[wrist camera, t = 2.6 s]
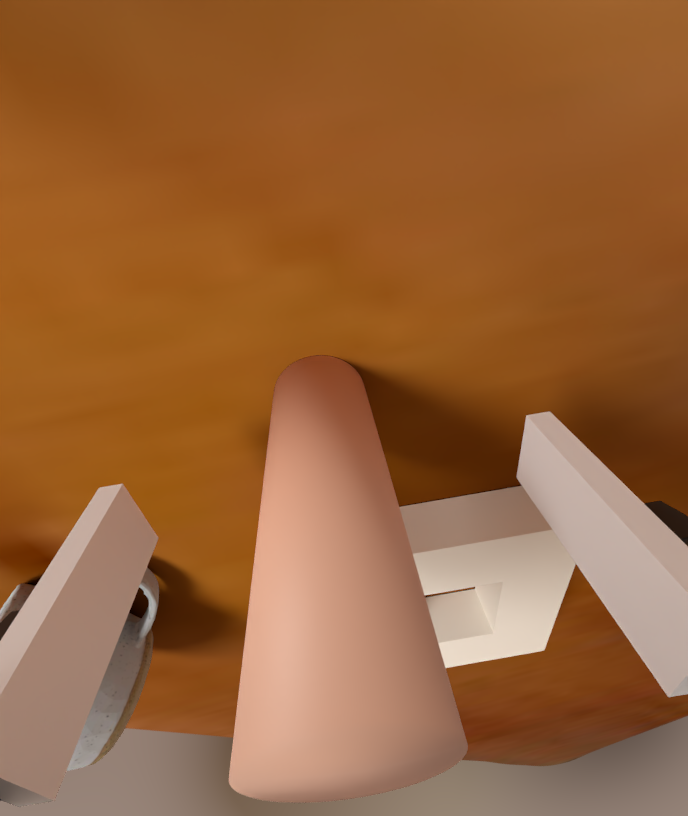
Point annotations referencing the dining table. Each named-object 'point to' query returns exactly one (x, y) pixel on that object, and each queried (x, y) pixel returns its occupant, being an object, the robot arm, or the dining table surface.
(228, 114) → the dining table surface
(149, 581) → the ceramic mug
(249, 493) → the dining table surface
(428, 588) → the socket block
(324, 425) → the peg
